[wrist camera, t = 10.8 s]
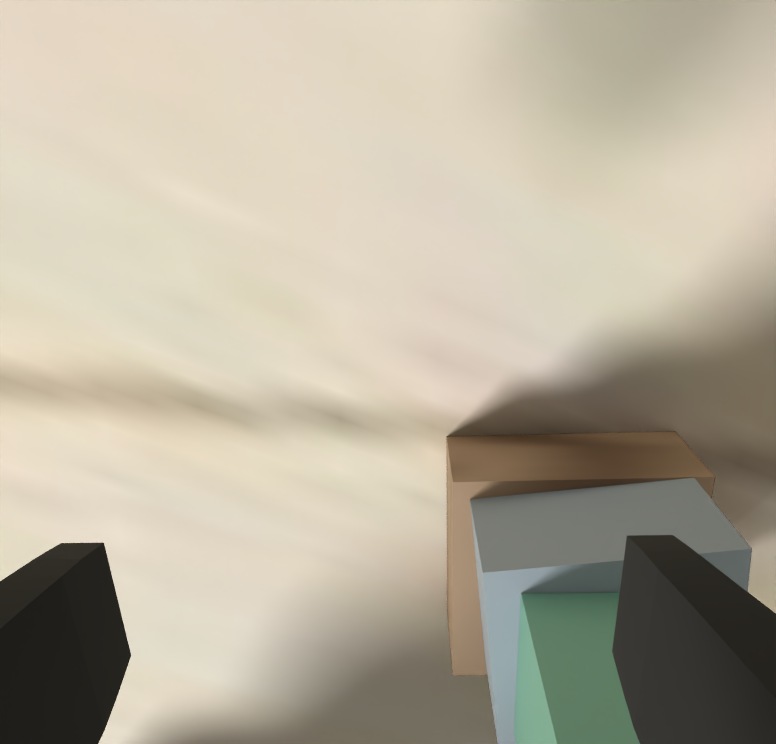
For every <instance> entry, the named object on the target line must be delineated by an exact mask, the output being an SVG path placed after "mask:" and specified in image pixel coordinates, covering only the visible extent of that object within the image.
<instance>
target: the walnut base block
mask: <svg viewBox="0 0 776 744" xmlns="http://www.w3.org/2000/svg"><path fill="white" fill-rule="evenodd" d="M685 478H695V479H696V480H697V482H698V483H699V484H700V485H701V487H702V488H703V489H704V490H705V492H706V493H707V494H708V495H709V497H710V498H711V497H712V492H713V486H714V481H715V476H714V475H713V474H712V473H711V471H710V470H709V469H708V468H707V467H706V466H705V465H704V463H703V462H702V461H701V460H700V459H699V458H698V457H697V455H696V454H695V453H694V452H693V451H692V450H691V449H690V448H689V446H688V445H687V444H686V443H685V442H684V441H683V440H682V438H681V437H680V436H679V435H678V434H677V433H676V432H675V431H665V432H621V433H577V434H533V435H489V436H447V617H448V628H449V639H450V650H451V661H452V672H453V675H487V670H486V663H485V652H484V642H483V632H482V621H481V611H480V600H479V590H478V579H477V569H476V558H475V548H474V537H473V527H472V516H471V506H470V499H478V498H489V497H499V496H509V495H520V494H530V493H540V492H551V491H561V490H571V489H582V488H592V487H602V486H613V485H623V484H633V483H644V482H654V481H664V480H675V479H685Z"/></svg>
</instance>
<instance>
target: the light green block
mask: <svg viewBox="0 0 776 744" xmlns="http://www.w3.org/2000/svg"><path fill="white" fill-rule="evenodd" d="M619 593H620V592H610V593H525V594H521V604H520V623H519V642H518V661H517V680H516V699H515V718H514V734H515V740H516V744H640V743H639V740H638V737H637V735H636V732H635V730H634V727H633V724H632V720H631V717H630V714H629V710H628V707H627V704H626V700H625V697H624V694H623V690H622V686H621V683H620V679H619V675H618V672H617V668H616V664H615V661H614V657H613V653H612V648H613V640H614V632H615V625H616V617H617V609H618V601H619Z"/></svg>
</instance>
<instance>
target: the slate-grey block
mask: <svg viewBox="0 0 776 744" xmlns="http://www.w3.org/2000/svg"><path fill="white" fill-rule="evenodd" d="M470 506H471V516H472V527H473V537H474V548H475V558H476V569H477V579H478V590H479V600H480V611H481V621H482V632H483V642H484V652H485V663H486V670H487V676H488V683H489V690H490V696H491V703H492V710H493V716H494V723H495V730H496V736H497V743H498V744H516V740H515V734H514V718H515V699H516V680H517V661H518V642H519V623H520V604H521V594H525V593H610V592H620V586H621V578H622V570H623V562H624V554H625V546H626V539H627V536H629V535H674V536H675V537H676V538H678V539H679V540H681V541H682V542H683V543H685V544H686V545H687V546H689V547H690V548H691V549H693V550H694V551H695V552H697V553H698V554H699V555H701V556H702V557H703V558H705V559H706V560H707V561H708V562H710V563H711V564H712V565H714V566H715V567H716V568H717V569H719V570H720V571H721V572H723V573H724V574H725V575H726V576H728V577H729V578H730V579H731V580H733V581H734V582H735V583H737V584H738V585H739V586H740V587H742V588H743V589H744V590H746V591H748V581H749V571H750V562H751V552H752V548H751V547H750V546H749V545H748V544H747V542H746V541H745V540H744V539H743V537H742V536H741V535H740V534H739V532H738V531H737V530H736V529H735V527H734V526H733V525H732V524H731V523H730V521H729V520H728V519H727V518H726V516H725V515H724V514H723V513H722V511H721V510H720V509H719V508H718V506H717V505H716V504H715V503H714V501H713V500H712V499H711V498H710V497H709V495H708V494H707V493H706V492H705V490H704V489H703V488H702V487H701V485H700V484H699V483H698V482H697V480H696V479H695V478H685V479H675V480H664V481H654V482H644V483H633V484H623V485H613V486H602V487H592V488H582V489H571V490H561V491H551V492H540V493H530V494H520V495H509V496H499V497H489V498H478V499H470Z"/></svg>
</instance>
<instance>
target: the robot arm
mask: <svg viewBox="0 0 776 744" xmlns="http://www.w3.org/2000/svg"><path fill="white" fill-rule="evenodd" d="M612 653H613V657H614V661H615V664H616V668H617V672H618V675H619V679H620V683H621V686H622V690H623V694H624V697H625V700H626V704H627V707H628V710H629V714H630V717H631V720H632V724H633V727H634V730H635V732H636V735H637V737H638V740H639V743H640V744H776V614H775V613H774V612H773V611H771V610H770V609H769V608H768V607H766V606H765V605H764V604H762V603H761V602H760V601H758V600H757V599H756V598H755V597H753V596H752V595H751V594H749V593H748V592H747V591H746V590H744V589H743V588H742V587H740V586H739V585H738V584H737V583H735V582H734V581H733V580H731V579H730V578H729V577H728V576H726V575H725V574H724V573H723V572H721V571H720V570H719V569H717V568H716V567H715V566H714V565H712V564H711V563H710V562H708V561H707V560H706V559H705V558H703V557H702V556H701V555H699V554H698V553H697V552H695V551H694V550H693V549H691V548H690V547H689V546H687V545H686V544H685V543H683V542H682V541H681V540H679V539H678V538H676V537H675V536H674V535H629V536H627V539H626V546H625V554H624V562H623V570H622V578H621V586H620V593H619V601H618V609H617V617H616V625H615V632H614V640H613V648H612ZM130 657H131V653H130V649H129V645H128V641H127V637H126V633H125V629H124V624H123V620H122V616H121V612H120V608H119V604H118V600H117V596H116V591H115V587H114V583H113V579H112V575H111V571H110V567H109V563H108V558H107V554H106V550H105V546H104V543H61V544H59V545H57V546H56V547H54V548H52V549H50V550H49V551H47V552H45V553H44V554H42V555H40V556H39V557H37V558H36V559H34V560H32V561H31V562H29V563H28V564H26V565H25V566H23V567H21V568H20V569H18V570H17V571H15V572H14V573H12V574H11V575H9V576H8V577H6V578H5V579H3V580H2V581H0V744H98V743H99V740H100V738H101V736H102V734H103V732H104V730H105V727H106V725H107V722H108V719H109V717H110V714H111V711H112V709H113V706H114V703H115V701H116V698H117V695H118V692H119V689H120V686H121V683H122V680H123V678H124V675H125V672H126V669H127V666H128V663H129V660H130Z"/></svg>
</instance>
